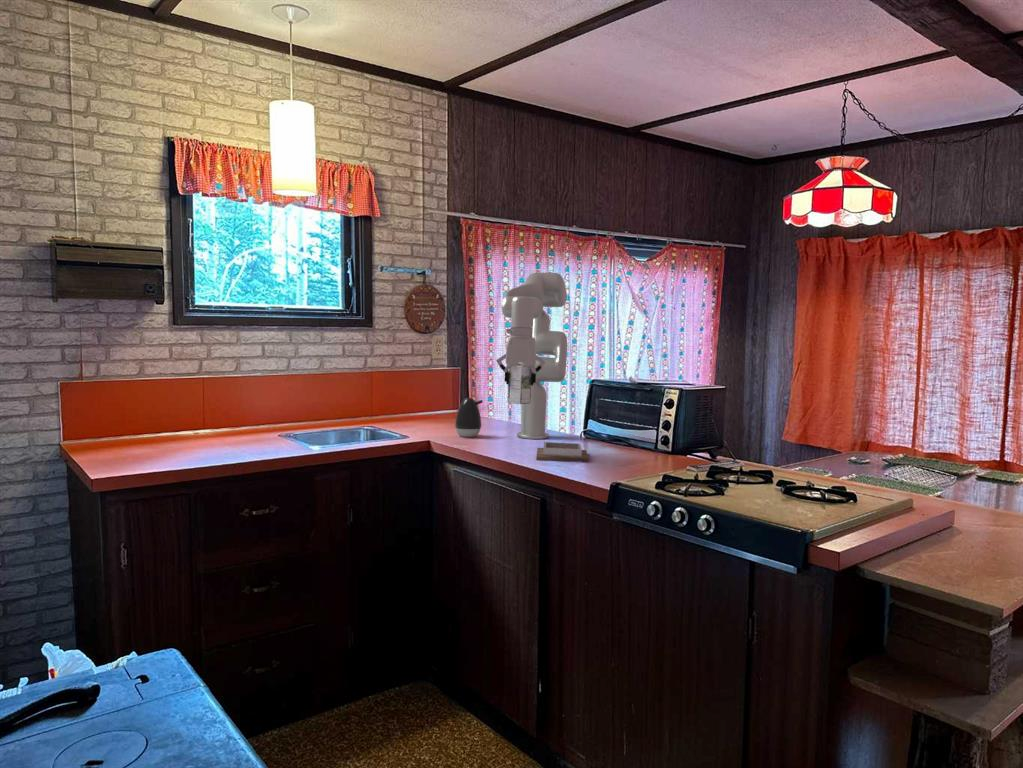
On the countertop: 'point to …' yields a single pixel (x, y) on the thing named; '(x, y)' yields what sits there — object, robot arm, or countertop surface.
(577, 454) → the tray
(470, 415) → the pump dispenser
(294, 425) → the countertop surface
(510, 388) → the syrup box
